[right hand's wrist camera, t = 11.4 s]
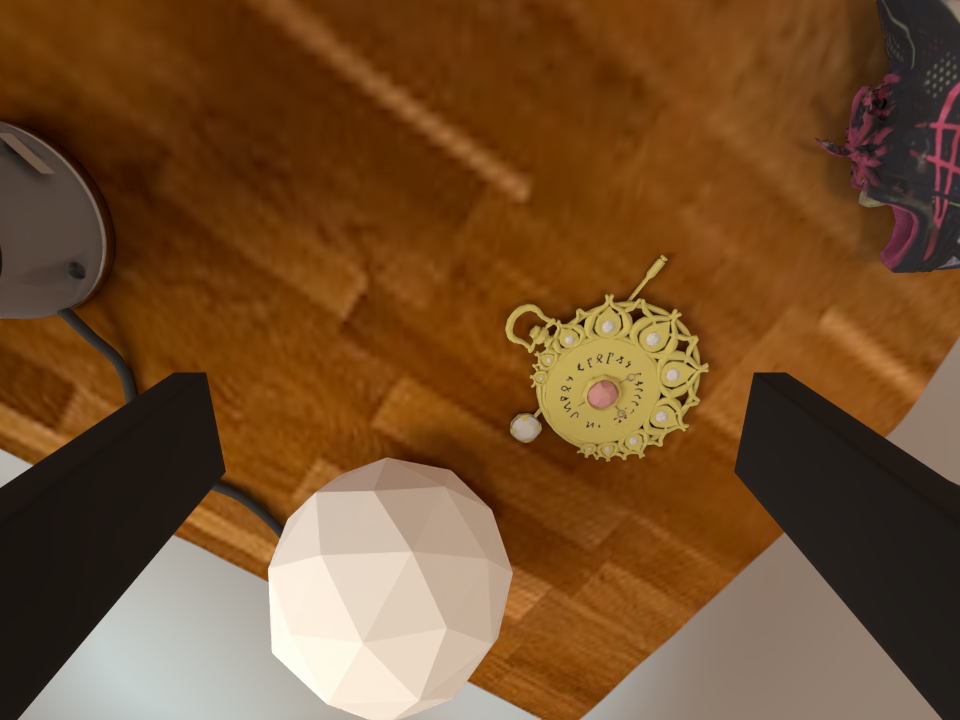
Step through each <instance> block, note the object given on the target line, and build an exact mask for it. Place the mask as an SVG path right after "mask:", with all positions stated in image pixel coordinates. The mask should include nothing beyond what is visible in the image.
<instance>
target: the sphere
mask: <svg viewBox="0 0 960 720" xmlns="http://www.w3.org/2000/svg"><path fill="white" fill-rule="evenodd" d="M268 573H269V595H270V617H271V641H272V653H273V654H274V655H275V656H276V657H277V658H278V659H279V660H280V661H281V662H282V663H283V664H284V665H286V666H287V667H288V668H289V669H290V670H291V671H292V672H293V673H294V674H295V675H296V676H297V677H298V678H299V679H301V680H302V681H303V682H304V683H305V684H306V685H307V686H308V687H309V688H310V689H311V690H312V691H313V692H314V693H315V694H317V695H318V696H319V697H320V698H321V699H322V700H323V701H324V702H325V703H326V704H328V705H331V706H334V707H336V708H339V709H342V710H344V711H347V712H350V713H352V714H355V715H358V716H360V717H363V718H366V719H368V720H399V719H402V718H405V717H407V716H410V715H412V714H415V713H417V712H420V711H422V710H425V709H428V708H430V707H433V706H435V705H438V704H440V703H443V702H445V701H448V700H450V699H453V698H455V697H456V695H457V694H458V693H459V691H460V690H461V688H462V687H463V686H464V684H465V683H466V681H467V680H468V679H469V677H470V676H471V674H472V673H473V672H474V670H475V669H476V667H477V666H478V665H479V663H480V662H481V660H482V659H483V658H484V656H485V655H486V653H487V652H488V651H489V649H490V648H491V647H492V645H493V644H494V642H495V641H496V640H497V638H498V635H499V631H500V626H501V622H502V618H503V613H504V609H505V605H506V601H507V596H508V592H509V588H510V583H511V579H512V575H513V572H512V569H511V566H510V563H509V560H508V557H507V554H506V551H505V548H504V545H503V542H502V539H501V536H500V533H499V530H498V527H497V524H496V521H495V518H494V515H493V512H492V510H491V509H490V508H489V507H488V506H487V505H486V504H485V503H484V502H483V501H482V500H481V499H480V498H479V497H478V496H477V495H476V494H475V493H474V492H473V491H472V490H471V489H470V488H469V487H467V486H466V485H465V484H464V483H463V482H462V481H461V480H460V479H459V478H458V477H457V476H456V475H455V474H454V473H453V472H452V471H451V470H448V469H442V468H437V467H432V466H427V465H422V464H417V463H412V462H407V461H402V460H397V459H392V458H384V459H381V460H379V461H376V462H373V463H371V464H368V465H365V466H362V467H360V468H357V469H354V470H352V471H349V472H346V473H343V474H341V475H339V476H337V477H336V478H334V479H333V480H332V481H330V482H329V483H328V484H326V485H325V486H324V487H322V488H321V489H319V490H318V491H317V492H315V493H314V494H313V495H312V496H311V497H310V498H309V499H308V500H307V501H306V502H305V503H304V504H303V505H302V506H301V507H300V508H299V509H298V510H297V511H296V512H295V513H294V514H293V515H292V516H291V517H290V518H288V520H287V523H286V525H285V528H284V530H283V533H282V535H281V538H280V540H279V543H278V545H277V548H276V550H275V553H274V555H273V558H272V561H271V563H270V566H269V568H268Z"/></svg>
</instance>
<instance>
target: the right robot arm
mask: <svg viewBox="0 0 960 720" xmlns="http://www.w3.org/2000/svg"><path fill="white" fill-rule="evenodd" d="M114 248H115V245H114V232H113V227H112V222H111V218H110V215H109V212H108V209H107V207H106V204H105V202H104V200H103V198H102V196H101V194H100V192H99V190H98V189H97V187H96V185H95V184H94V182H93V181H92V179H91V178H90V177H89V175H88V174H87V173H86V171H85V170H84V169H83V168H82V167H81V166H80V164H79V163H78V162H77V161H76V160H75V159H74V158H73V157H72V156H71V155H69V154H68V153H67V152H66V151H65V150H64V149H62V148H61V147H60V146H58V145H57V144H56V143H54V142H53V141H51V140H50V139H48V138H46V137H45V136H43V135H41V134H39V133H37V132H35V131H33V130H31V129H29V128H26V127H24V126H21V125H18V124H14V123H10V122H6V121H0V318H12V319H33V318H41V317H48V316H53V315H56V314H59V315H60V316H61V317H62V318H63V319H64V320H65V321H66V322H67V323H68V324H70V325H71V326H72V327H73V328H74V329H75V330H76V331H77V332H78V333H79V334H80V335H81V336H82V337H83V338H84V339H85V340H86V341H88V342H89V343H90V344H91V345H92V346H94V347H95V348H96V349H97V350H99V351H100V352H101V353H102V354H104V355H105V356H106V357H107V358H108V359H109V360H110V361H111V362H112V364H113V365H114V367H115V368H116V370H117V372H118V374H119V376H120V378H121V381H122V384H123V387H124V392H125V398H126V405H124V406H123V407H121V408H120V409H118V410H117V411H115V412H114V413H112V414H111V415H109V416H108V417H106V418H105V419H103V420H102V421H100V422H99V423H97V424H96V425H94V426H93V427H91V428H90V429H88V430H87V431H85V432H84V433H82V434H81V435H79V436H78V437H76V438H75V439H73V440H72V441H70V442H69V443H67V444H66V445H64V446H63V447H61V448H60V449H58V450H57V451H55V452H54V453H52V454H51V455H49V456H48V457H46V458H45V459H43V460H42V461H40V462H39V463H37V464H36V465H34V466H33V467H31V468H30V469H28V470H27V471H25V472H24V473H22V474H21V475H19V476H18V477H16V478H15V479H13V480H12V481H10V482H9V483H7V484H5V485H4V486H3V487H1V488H0V720H18V718H19V717H20V716H21V715H22V714H23V712H24V711H25V710H26V709H27V708H28V707H29V705H30V704H31V703H32V702H33V701H34V699H35V698H36V697H37V696H38V695H39V693H40V692H41V691H42V690H43V689H44V687H45V686H46V685H47V684H48V683H49V681H50V680H51V679H52V678H53V677H54V676H55V674H56V673H57V672H58V671H59V670H60V668H61V667H62V666H63V665H64V664H65V663H66V661H67V660H68V659H69V658H70V657H71V655H72V654H73V653H74V652H75V651H76V649H77V648H78V647H79V646H80V645H81V643H82V642H83V641H84V640H85V639H86V638H87V636H88V635H89V634H90V633H91V632H92V630H93V629H94V628H95V627H96V626H97V624H98V623H99V622H100V621H101V620H102V618H103V617H104V616H105V615H106V614H107V613H108V611H109V610H110V609H111V608H112V607H113V605H114V604H115V603H116V602H117V601H118V599H119V598H120V597H121V596H122V595H123V593H124V592H125V591H126V590H127V589H128V588H129V586H130V585H131V584H132V583H133V581H134V580H135V579H136V578H137V577H138V576H139V574H140V573H141V572H142V571H143V570H144V568H145V567H146V566H147V565H148V564H149V563H150V561H151V560H152V559H153V558H154V557H155V555H156V554H157V553H158V552H159V551H160V549H161V548H162V547H163V546H164V545H165V544H166V542H167V541H168V540H169V539H170V538H171V536H172V535H173V534H174V533H175V532H176V530H177V529H178V528H179V527H180V526H181V524H182V523H183V522H184V521H185V520H186V519H187V517H188V516H189V515H190V514H191V513H192V511H193V510H194V509H195V508H196V507H197V505H198V504H199V503H200V502H201V501H202V499H203V498H204V497H205V496H206V495H207V494H208V492H209V491H210V490H214V491H217V492H220V493H222V494H225V495H227V496H229V497H232V498H233V499H235V500H237V501H239V502H240V503H242V504H243V505H245V506H246V507H248V508H249V509H250V510H252V511H253V512H254V513H255V514H256V515H258V516H259V517H260V518H261V519H262V520H263V521H264V522H265V523H266V524H267V525H268V526H269V527H270V528H271V529H272V530H273V531H274V532H275V533H276V534H277V535H278V537H279V538H281V535H282V533H283V530H284V528H283V527H282V525H281V524H280V523H279V522H278V521H277V520H276V519H275V518H274V517H273V516H272V515H271V514H270V513H269V512H268V511H267V510H266V509H264V508H263V507H262V506H261V505H260V504H258V503H257V502H256V501H255V500H253V499H252V498H251V497H249V496H248V495H246V494H245V493H243V492H241V491H239V490H237V489H235V488H233V487H231V486H228V485H226V484H223V483H220V482H218V480H219V479H220V478H221V477H222V476H223V474H224V473H225V472H226V470H225V465H224V460H223V455H222V450H221V445H220V440H219V435H218V430H217V425H216V420H215V415H214V410H213V405H212V400H211V395H210V390H209V385H208V380H207V375H206V373H173V374H171V375H170V376H168V377H167V378H165V379H164V380H162V381H161V382H159V383H158V384H156V385H154V386H153V387H151V388H150V389H148V390H147V391H145V392H144V393H142V394H141V395H139V396H138V397H137V394H136V388H135V384H134V381H133V377H132V375H131V372H130V370H129V368H128V366H127V364H126V363H125V361H124V359H123V358H122V357H121V355H120V354H119V353H118V352H117V351H116V350H115V349H114V348H113V347H111V346H110V345H109V344H108V343H106V342H105V341H104V340H103V339H101V338H100V337H99V336H98V335H97V334H96V333H95V332H94V331H93V330H92V329H91V328H89V327H88V326H87V325H86V324H85V323H84V322H83V321H82V320H81V319H80V318H79V317H78V316H77V315H76V314H75V313H74V312H73V311H72V310H71V309H74V308H76V307H79V306H81V305H82V304H84V303H86V302H87V301H89V300H90V299H91V298H93V297H94V296H95V295H96V294H97V293H98V292H99V290H100V289H101V288H102V286H103V285H104V283H105V282H106V280H107V278H108V276H109V273H110V271H111V267H112V264H113V258H114ZM734 472H735V473H736V474H737V476H738V477H739V478H740V479H741V480H742V482H743V483H744V484H745V485H746V486H747V488H748V489H749V490H750V491H751V492H752V494H753V495H754V496H755V497H756V498H757V499H758V501H759V502H760V503H761V504H762V505H763V507H764V508H765V509H766V510H767V511H768V513H769V514H770V515H771V516H772V517H773V519H774V520H775V521H776V522H777V523H778V524H779V526H780V527H781V528H782V529H783V530H784V532H785V533H786V534H787V535H788V536H789V538H790V539H791V540H792V541H793V542H794V543H795V545H796V546H797V547H798V548H799V549H800V551H801V552H802V553H803V554H804V555H805V557H806V558H807V559H808V560H809V561H810V563H811V564H812V565H813V566H814V567H815V568H816V570H817V571H818V572H819V573H820V574H821V576H822V577H823V578H824V579H825V580H826V582H827V583H828V584H829V585H830V586H831V588H832V589H833V590H834V591H835V592H836V593H837V595H838V596H839V597H840V598H841V599H842V601H843V602H844V603H845V604H846V605H847V607H848V608H849V609H850V610H851V611H852V613H853V614H854V615H855V616H856V617H857V618H858V620H859V621H860V622H861V623H862V624H863V626H864V627H865V628H866V629H867V630H868V631H869V633H870V634H871V635H872V636H873V637H874V639H875V640H876V641H877V642H878V643H879V645H880V646H881V647H882V648H883V649H884V651H885V652H886V653H887V654H888V655H889V656H890V658H891V659H892V660H893V661H894V663H895V664H896V665H897V666H898V667H899V668H900V670H901V671H902V672H903V673H904V674H905V676H906V677H907V678H908V679H909V680H910V682H911V683H912V684H913V685H914V686H915V688H916V689H917V690H918V691H919V692H920V693H921V695H922V696H923V697H924V698H925V699H926V701H927V702H928V703H929V704H930V705H931V707H932V708H933V709H934V710H935V711H936V712H937V714H938V715H939V716H940V717H941V718H942V720H960V486H959V485H957V484H955V483H953V482H951V481H948V480H947V479H945V478H944V477H942V476H941V475H939V474H938V473H936V472H935V471H933V470H932V469H930V468H929V467H927V466H926V465H924V464H923V463H921V462H920V461H918V460H917V459H915V458H914V457H912V456H911V455H909V454H908V453H906V452H905V451H903V450H902V449H900V448H899V447H897V446H896V445H894V444H893V443H891V442H890V441H888V440H887V439H885V438H884V437H882V436H881V435H879V434H878V433H876V432H875V431H873V430H872V429H870V428H869V427H867V426H866V425H864V424H863V423H861V422H860V421H858V420H857V419H855V418H854V417H852V416H851V415H849V414H848V413H846V412H845V411H843V410H842V409H840V408H839V407H837V406H836V405H834V404H833V403H831V402H830V401H828V400H827V399H825V398H824V397H822V396H821V395H819V394H818V393H816V392H815V391H813V390H812V389H810V388H809V387H807V386H806V385H804V384H802V383H801V382H799V381H798V380H796V379H795V378H793V377H792V376H790V375H789V374H787V373H754V375H753V380H752V385H751V390H750V395H749V400H748V405H747V410H746V415H745V420H744V425H743V430H742V435H741V440H740V445H739V450H738V455H737V460H736V465H735V470H734Z"/></svg>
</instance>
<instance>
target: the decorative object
mask: <svg viewBox="0 0 960 720" xmlns="http://www.w3.org/2000/svg"><path fill="white" fill-rule="evenodd" d="M664 261H667V258H666V257H664V256H663V255H661V259H658V260H657V261H656V262H655V263H654V265H653V266H652V267H651V268H650V269H649V271H648V272H647V275H646V278H645V279H644V280H643V281H642V283H641V284H640V285H639V286H638V288H637V289H636V290H635V291H634V292H633V294H632V295H631V296H630V297H629V299H628V300H627V301H625V302H615V303H614V302H613V300H612V299H613V297H614V295H613V294H611V295H610V297H609V295H607V294H606V295H605V298H606V302H605V304H604V305H602V306H598V307H595V308H593V309H591V310H588V311H586V312H584V311H583V310H582V309H578V310H577V311H576V318H574V319H573V320H572V321H570V322H569V323H567V324H561V322H560V320H558V322H555V321H556V320H555V319H554V318H551V319H550V318H548V317H546V316H544V315H543V313H542V311H541V309H540V308H538V307H537V306H536V305H533V304H527V305H523V306H520V307H518V308H517V309H516V310H515V311H513V313H512V314H511V316H510V317H509V318H508V320H507V324H506V334H507V337H508V338H509V340H511V341H512V342H514V343H518V344H523V345H524V346H525V347H526V348H528V352H529V353H531V352H532V351H533V350H534V347H535V344H536V343H537V344H541V343H545V347H546V350H544V351H543V352H541V353H539V352H538V351H536V353H535V356H538V363H537V364H532V365H533V367H534V368H535V369H536V371H537V372H536V373H535V374H534V375H531V376H530V378H533V380H534V383H533V385H531V387H534V386H535V384H536V394H537V398H538V402H539V407H540V408H539V409H538V410H537V412H536V413H535V414H534V415H533V414H530V413H524V414H518V415H517V416H516V417H515V418H514V419H513V420H512V421H511V425H510V430H511V434H512V436H513V437H514V438H515V439H517V440H519V441H521V442H524V443H525V442H531V441H532V440H534V439H535V438H536V437H537V436H538V435H539V433H540V432H541V430H542V428H541V424H540V422H539V420H538V419H537V416H538V415H539V414H540V412H541V411H542V413H543V415H544V417H545V419H546V421H547V422H548V423H549V425H550V426H551V427H552V428H553V429H554V431H555V432H556V433H557V434H559V435H560V436H561V437H562V438H563V439H565V440H566V441H568V442H569V443H571V444H573V445H575V446H577V447H580V449H581V450H579V451H577V454H578V453H580V452H583V453H584V454H585V456H584V457H587V458H588V455H591V454H593V455H594V456H595V459H596V460H598V458H599V457H600V456H602V457H604V458H606V461H607V462H608V461H610V458H611V457H612V456H614V455H617V456H621V458H622V459H623V460H626V456H627V455H628V454H638V455H639V458H642V456H645V454H643V450H644V449H645V447H646V446H647V445H651V444H655V445H657V446H663V442H662V441H663V438H664V436H665V435H666V434H667V433H669V432H671V431H673V430H675V429H677V428H678V429H682V430H683V432H684V431H686V429H685V428H687V427H688V426H689V425H688V424H684V423H683V422H682V417H683V416H684V414H685V413H686V412H687V410H688V409H689V407H690V406H695V405H698V403H699V401H700V399H699V398H697V397H696V396H695V395H696V392H697V389H698V386H699V380H700V373H701V372H708V371H709V369H708V368H707V367H708V364H707V363H705V364H704V365H700V354H699V351H698V349H697V346H696V343H697V342H698V341H699V339H698V338H697V336H691V334H690V333H689V331H688V329H687V328H686V327H685V326H684V325H683V324H682V323H681V322H680V321H679V320H678V319H677V317H679V316H681V315H682V314H681V312H678V313H677V309H674V310H673V312H672V314H670V313H669V312H667V311H665V310H664V309H662V308H660V307H657V306H654V305H651V304H648V303H645V299H641V298H639V299H638V300H637V301H636V302H634V301H632V300H633V298H634V297H635V296H636V295H637V293H638V292H639V291H640V290H641V289H642V287H643V286H644V285H645V284H646V282H647V281H648V280H649V279H651V278H653V277H654V276H655V275H656V274H657V273H658V271H659V270H660V269H661V268H662V267H663V266H664V264H665V263H664ZM635 308H642V311H643V313H644V314H645V315H646V316H647V317H643V318H641V319H639V320H637V321H636V322H635V323H634V324H633V323H632V317H631V315H630V314H629V313H627V312H630V311H633V310H634V309H635ZM612 309H615V310H617V311H618V312H617V313H615V312H614V311H613V310H612ZM649 310H650V311H653V312H655V313H658V314H660V315H662V316H659V315H654V316H653V314H652V313H651V312H650V311H649ZM526 311H533V312H536V313H537V315H538V316H539V317H540V318H541V319H543V320H544V321H546V322H548V323H547V325H546V326H545V328H544V327H542V328H540V326H535V327H534V328H533V329H532V330H531V331H530V335H529V336H531V337H532V338H533V343H532V344H531V345H530V344H528V343H527V342H525V341H524V340H522V339H520V338H517V337H516V336H515V335H514V334H513V324H514V322H515V320H516V319H517V318H518V317H519V316H520V315H521V314H522V313H524V312H526ZM602 311H603V312H602ZM600 312H602V313H601V314H599V313H600ZM579 313H580V315H579ZM620 315H621V316H622V322H623V329H621V330H620V328H621V319H620ZM596 316H598V317H597V319H596ZM585 318H587V319H586V320H585V325H584V328H583V327H582V326H581V325H578V324H577V323H579V322H580V321H582V320H583V319H585ZM595 319H596V322H595ZM669 320H670V321H669ZM656 321H662V322H658V323H656ZM652 322H653V323H652ZM594 323H595V325H594ZM650 323H652V324H650ZM553 324H554V325H556V326H557V330H556V332H555V334H554V336H553V335H552V336H549V331H548V329H547V328H548V327H550V326H552V325H553ZM576 324H577V325H576ZM648 324H650V325H648ZM670 324H671V329H672V333H669V330H670ZM647 325H648V326H647ZM593 326H594V329H595V331H596V333H597V334H595V333H594V331H593V330H592V329H593ZM676 326H677V327H678V328H679V329H680V330H681V331H682V333H683V334H684V335H682V334H678V330H677V327H676ZM572 328H573V329H574V330H575V331H574V330H572ZM619 330H620V331H619ZM576 331H577V332H578V333H579V334H580V339H579V337H578V334H577V332H576ZM639 331H640V333H639ZM638 333H639V334H638ZM628 334H629V337H628V336H626V335H628ZM637 335H638V337H637ZM669 336H671V338H670V340H669V342H668V343H667V340H668V338H669ZM677 339H679V340H683V341H686V340H688V342H689V344H690V345H689V346H688V348H687V351H686V355H685V353H684V352H682V351H678V350H675V349H676V348H677V345H678V340H677ZM559 342H560V344H561V345H562V346H564V347H565V348H562V347H561V346H560V344H559ZM666 343H667V345H666ZM665 345H666V346H665ZM664 346H665V348H664V349H663V350H661V351H659V352H655V351H658V350H660V349H662V348H663V347H664ZM553 348H554V350H553ZM691 352H692V353H693V358H692V357H690V355H691ZM558 353H559V354H558ZM553 354H554V355H555V356H554V355H553ZM655 358H656V359H659V360H658V362H657V361H656V359H655ZM693 359H694V360H693ZM669 360H671V361H669ZM677 360H684V362H683V361H677ZM667 361H668V362H667ZM687 362H689V363H690V364H691V365H692V366H693V367H694V368H693V367H691V366H689V365H687V364H686V363H687ZM545 365H546V366H545ZM538 366H539V369H538V368H537V367H538ZM693 373H694V374H693ZM692 374H693V375H692ZM691 375H692V377H691V378H690V380H689V381H688V379H689V377H690V376H691ZM684 382H686V383H685V384H683V385H681V384H682V383H684ZM663 384H664V385H666V386H668V387H676V388H673V389H669V388H667V387H665V386H664V385H663ZM679 385H681V386H679ZM677 386H678V387H677ZM687 390H688V393H689V396H688V398H687V400H686V402H685V403H684V405H683V406H682V407H681V403H680V402H679V401H678V400H677V399H675V397H678V396H680V395H683V394H684V393H685V392H687ZM661 393H662V394H663V395H664V396H665V397H662V398H661V399H659V398H660V394H661ZM693 400H695V402H692V401H693ZM696 401H697V402H696ZM667 404H669V405H670V406H672V407H673V408H674V409H675V410H676V412H675V411H674V410H673V409H672V408H670V407H669V406H668V405H667ZM649 421H650V422H651V423H652V424H653V425H654V426H656V427H660V428H663V429H659V428H654V427H651V425H650V423H649ZM678 423H679V424H680V425H679V424H678ZM642 425H643V428H644V429H640V427H641V426H642ZM640 434H641V435H642V436H643V440H642V436H641V435H640ZM649 435H652V436H649ZM658 438H659V443H658V442H656V441H655V440H656V439H658ZM617 440H618V443H616V442H614V441H617ZM623 443H625V445H624V444H623ZM597 444H599V445H597ZM596 445H597V446H596ZM613 446H614V447H613ZM641 447H642V448H641ZM640 448H641V450H640ZM632 450H635V451H632ZM594 452H597V453H598V455H597V457H596V453H594ZM602 452H603V453H602ZM618 452H623V453H624V454H623V455H622V454H621V453H618ZM611 453H612V454H611ZM604 454H605V455H604Z"/></svg>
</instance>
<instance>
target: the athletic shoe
mask: <svg viewBox="0 0 960 720" xmlns="http://www.w3.org/2000/svg"><path fill="white" fill-rule="evenodd" d="M876 4H877V8H878V13H879V18H880V23H881V29H882V33H883V36H884V39H885V46H886V47H885V54H886V55H887V57H888V58H889V71H890V73H888V74H886V75H885V76H884V78H883V80H882V82H881V83H880V84H879V86H878V87H876V88H875V89H874V90H873V92H876V93H875V94H874V96H873V98H872V91H868V90H869V88H870V87H871V86H872V85H869V86H863V87H861V89H860V90H859V92H858V93H857V94H856V96H855V97H854V99H853V103H852V109H851V115H850V124H849V128H847V129H846V131H845V137H846V138H848V140H847V143H846V144H845V146H844V147H842V146H836V144H834V143H833V142H829V141H828V139H827V140H825V141H820V140H819V139H817V138H815V139H816V141H817V142H818V144H819V146H820V147H821V148H822V149H824V150H825V151H827V152H828V153H829V154H832V155H835V156H839V157H850V158H851V159H852V160H853V161H854V162H852V163H851V169H852V170H853V171H852V172H851V176H852V175H853V174H854V175H853V177H852V179H851V181H850V182H851V185H852V188H855V189H858V190H861V193H860V197H859V201H858V203H859V204H861V205H863V206H866V207H876V206H884V205H889V206H892V209H893V213H894V216H895V220H896V223H895V227H894V230H893V234H892V238H891V240H890V241H889V243H888V244H887V245H886V247H885V248H884V249H883V250H882V252H881V253H880V256H881V261H882V263H883V264H884V265H885V266H886V267H887V268H888V269H890V270H891V271H892V272H894V273H914V272H925V271H926V272H931V271H933V270H944V269H956V268H960V0H876ZM878 98H879V99H878Z"/></svg>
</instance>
